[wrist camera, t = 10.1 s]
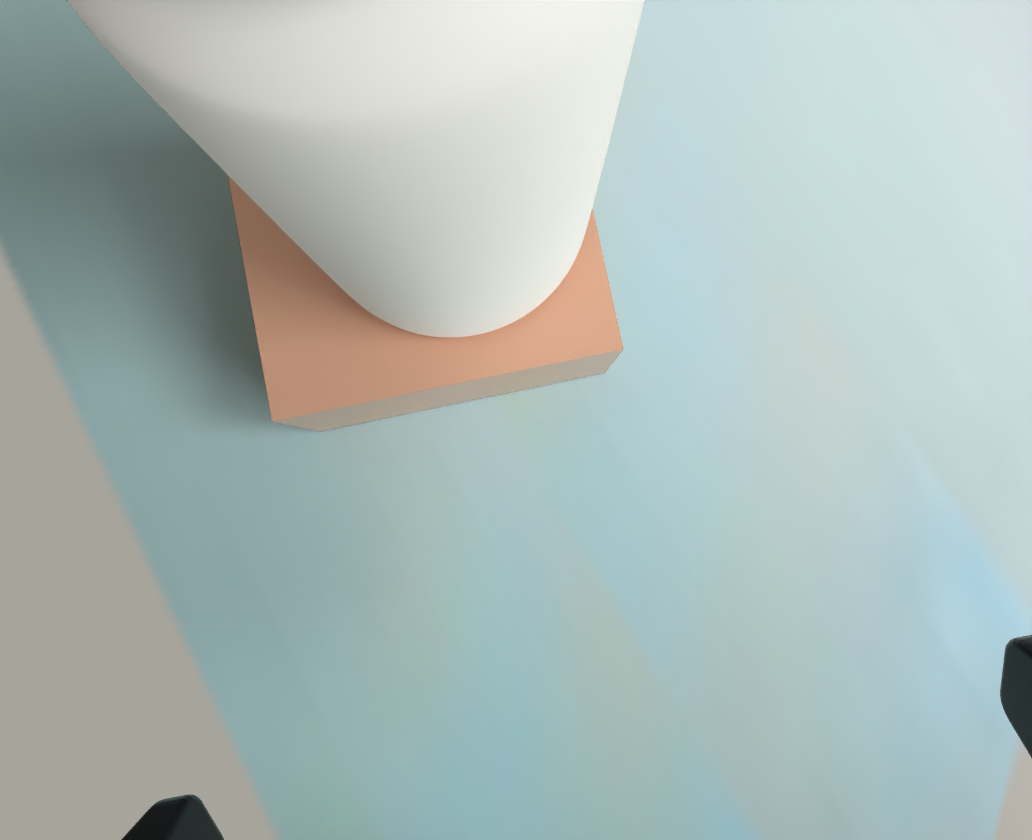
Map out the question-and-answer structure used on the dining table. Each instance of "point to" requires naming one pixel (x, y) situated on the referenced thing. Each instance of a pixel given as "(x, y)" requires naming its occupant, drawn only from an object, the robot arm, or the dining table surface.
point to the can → (398, 133)
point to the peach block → (405, 338)
